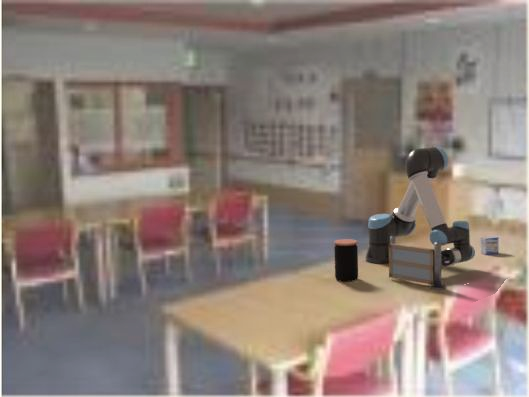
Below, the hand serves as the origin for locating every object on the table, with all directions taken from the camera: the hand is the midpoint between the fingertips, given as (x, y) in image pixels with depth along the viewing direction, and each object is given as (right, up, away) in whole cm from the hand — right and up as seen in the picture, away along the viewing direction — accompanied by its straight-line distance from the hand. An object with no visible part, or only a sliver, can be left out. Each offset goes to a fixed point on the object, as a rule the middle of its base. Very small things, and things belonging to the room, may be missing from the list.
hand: (414, 265), depth 314 cm
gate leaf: (-1, -7, 0) cm, 7 cm away
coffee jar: (-29, -8, +12) cm, 32 cm away
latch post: (-7, -7, +13) cm, 16 cm away
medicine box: (+51, +1, +53) cm, 73 cm away
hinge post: (+8, -9, -9) cm, 15 cm away
